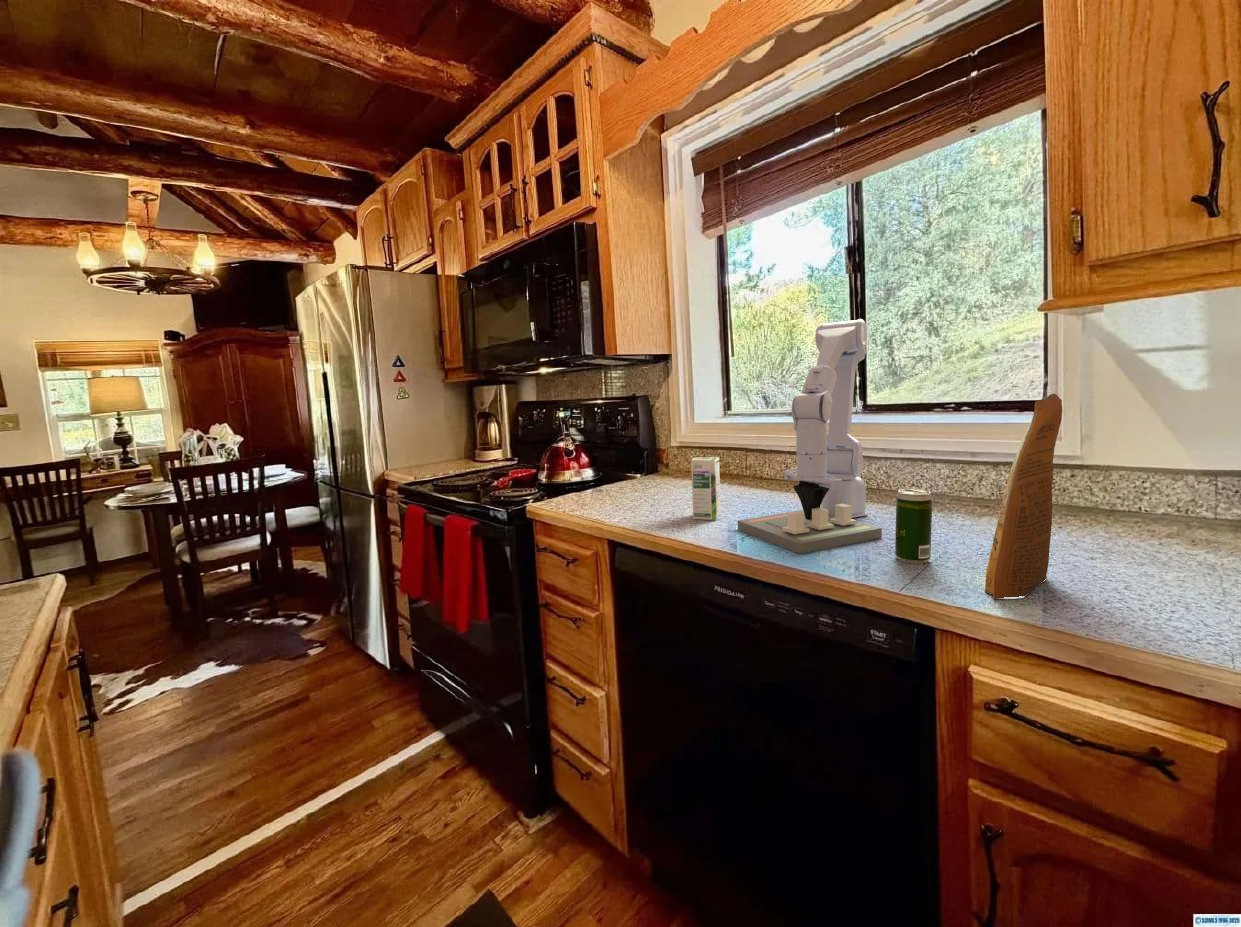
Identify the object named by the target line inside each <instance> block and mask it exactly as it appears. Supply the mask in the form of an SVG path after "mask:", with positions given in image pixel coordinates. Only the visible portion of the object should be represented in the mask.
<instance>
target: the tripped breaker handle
mask: <svg viewBox="0 0 1241 927" xmlns="http://www.w3.org/2000/svg"><path fill="white" fill-rule="evenodd" d="M807 526H808V527H811V528H814V529H818V530H823V529H828V528H834V524H830V523H828V509H824V508H821V506H820V507H819V508H813V509H812V522H810V523H807Z"/></svg>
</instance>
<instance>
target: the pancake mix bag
mask: <svg viewBox="0 0 1241 927" xmlns="http://www.w3.org/2000/svg"><path fill="white" fill-rule="evenodd" d="M1062 401H1063V400H1062V398H1060V397H1059V396H1058V394H1056V393H1050V394H1049V395H1048V396H1047V397H1045V398H1043V399H1039V400H1037V401H1035V402H1034V411H1033V414H1032V418H1031V421H1030V423H1029V425H1028V428H1027V429H1026V432H1025V433H1024V436H1023V438H1022V440H1021V442H1020V444H1019V446H1018V448H1017V451H1016V454H1015V457H1014V459H1013V462H1012V465H1011V468H1010V471H1009V475H1008V479H1007V480H1008V481H1007V484H1006V486H1005V489H1004V494H1003V497H1002V502H1001V507H1000V509H999V514H998V515H999V516H998V519H997V524H996V528H995V531H994V536H993V539H992V540H993V541H992V544H991V549H990V554H989V558H988V562H987V566H986V571H985V581H984V582H985V583H984V584H985V585H984V593H986V592H987V593H986V594H988V593H991V594H993V595H992V599H993V598H1004V597H1019V596H1025V595H1027V594H1028V593H1029V594H1031V593H1032V592H1033V591H1034V590H1036V589H1037V588H1038V587H1039V586H1040V585H1041V584H1042V583H1041V582H1043V581H1044V580H1045V579H1046V580H1047V574H1048V568H1049V563H1050V561H1049V560H1050V547H1051V546H1050V545H1051V535H1052V524H1053V521H1052V520H1053V482H1054V457H1055V447H1056V443H1057V439H1058V435H1059V432H1060V427H1061V423H1062V419H1063V418H1062V417H1063V403H1062ZM1040 583H1041V584H1040ZM1043 583H1044V582H1043ZM1039 584H1040V585H1039ZM1038 585H1039V586H1038ZM1037 586H1038V587H1037ZM1036 587H1037V588H1036ZM1035 588H1036V589H1035ZM1032 590H1033V591H1032ZM1031 591H1032V592H1031ZM1030 592H1031V593H1030ZM1029 594H1028V595H1029ZM1028 595H1027V596H1028Z"/></svg>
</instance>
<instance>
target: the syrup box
mask: <svg viewBox="0 0 1241 927" xmlns="http://www.w3.org/2000/svg"><path fill="white" fill-rule="evenodd" d="M690 465H691V471H690V472H691V489H692V490H691V494H692V519H693V520H704V521H716V520H718V518H719V517H720V516H721V481H720V480H721V478H720V475H721V474H720V471H721V470H720V456H719V457H718V456H714V457H713V456H711V457H709V456H708V457H707V456H706V457H705V456H704V457H703V456H701V457H700V456H696V457H693V458H692V459H691V462H690Z"/></svg>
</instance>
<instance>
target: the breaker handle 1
mask: <svg viewBox="0 0 1241 927" xmlns="http://www.w3.org/2000/svg"><path fill="white" fill-rule="evenodd" d="M796 511H797V510H796ZM796 511H795V510H793V511H788V513H787V512H786V513H787V527H782V530H783V531H786V532H789V533H792V534H800V533H805V532H809V529H808V528H805V527H804V514H803V513H800V512H796Z"/></svg>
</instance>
